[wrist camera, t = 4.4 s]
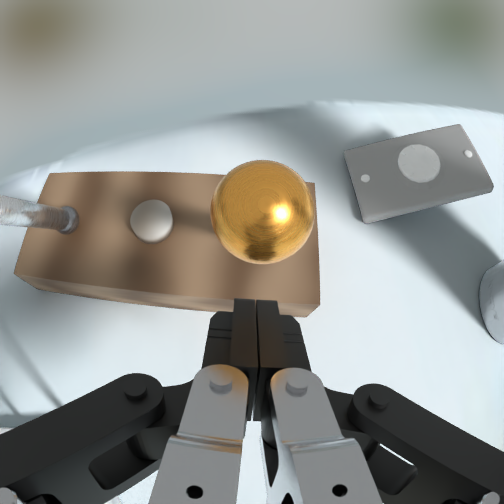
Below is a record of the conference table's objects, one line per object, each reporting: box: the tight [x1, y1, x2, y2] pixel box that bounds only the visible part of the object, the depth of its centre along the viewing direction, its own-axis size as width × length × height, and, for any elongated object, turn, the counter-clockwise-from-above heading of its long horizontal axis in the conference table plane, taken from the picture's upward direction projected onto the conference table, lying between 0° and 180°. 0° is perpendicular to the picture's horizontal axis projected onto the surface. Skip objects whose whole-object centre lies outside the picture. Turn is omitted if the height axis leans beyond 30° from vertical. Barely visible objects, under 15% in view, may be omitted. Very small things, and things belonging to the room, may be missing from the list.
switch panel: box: [14, 172, 320, 317], centre depth 23 cm, size 24×10×5 cm, turn 87°
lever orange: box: [210, 160, 315, 264], centre depth 15 cm, size 3×3×14 cm
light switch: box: [344, 124, 494, 224], centre depth 28 cm, size 8×6×14 cm
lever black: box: [0, 195, 80, 235], centre depth 14 cm, size 3×3×14 cm
